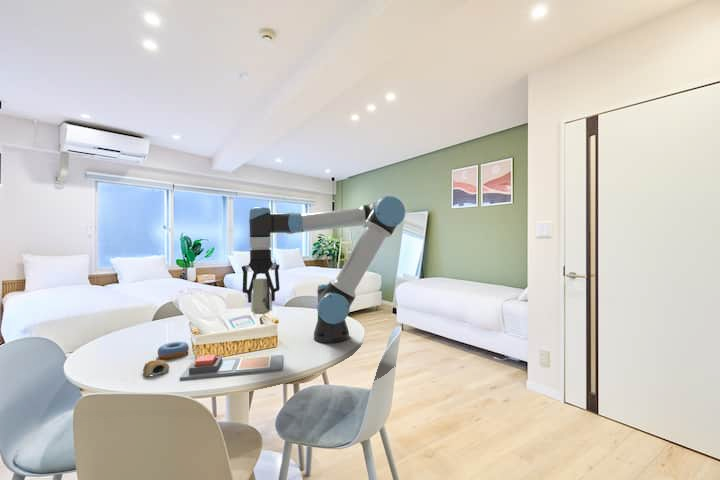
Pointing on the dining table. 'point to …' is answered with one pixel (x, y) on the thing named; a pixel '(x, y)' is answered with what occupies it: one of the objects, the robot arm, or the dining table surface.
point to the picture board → (234, 367)
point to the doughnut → (173, 350)
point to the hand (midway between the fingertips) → (261, 310)
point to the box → (261, 296)
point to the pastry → (155, 367)
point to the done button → (206, 360)
